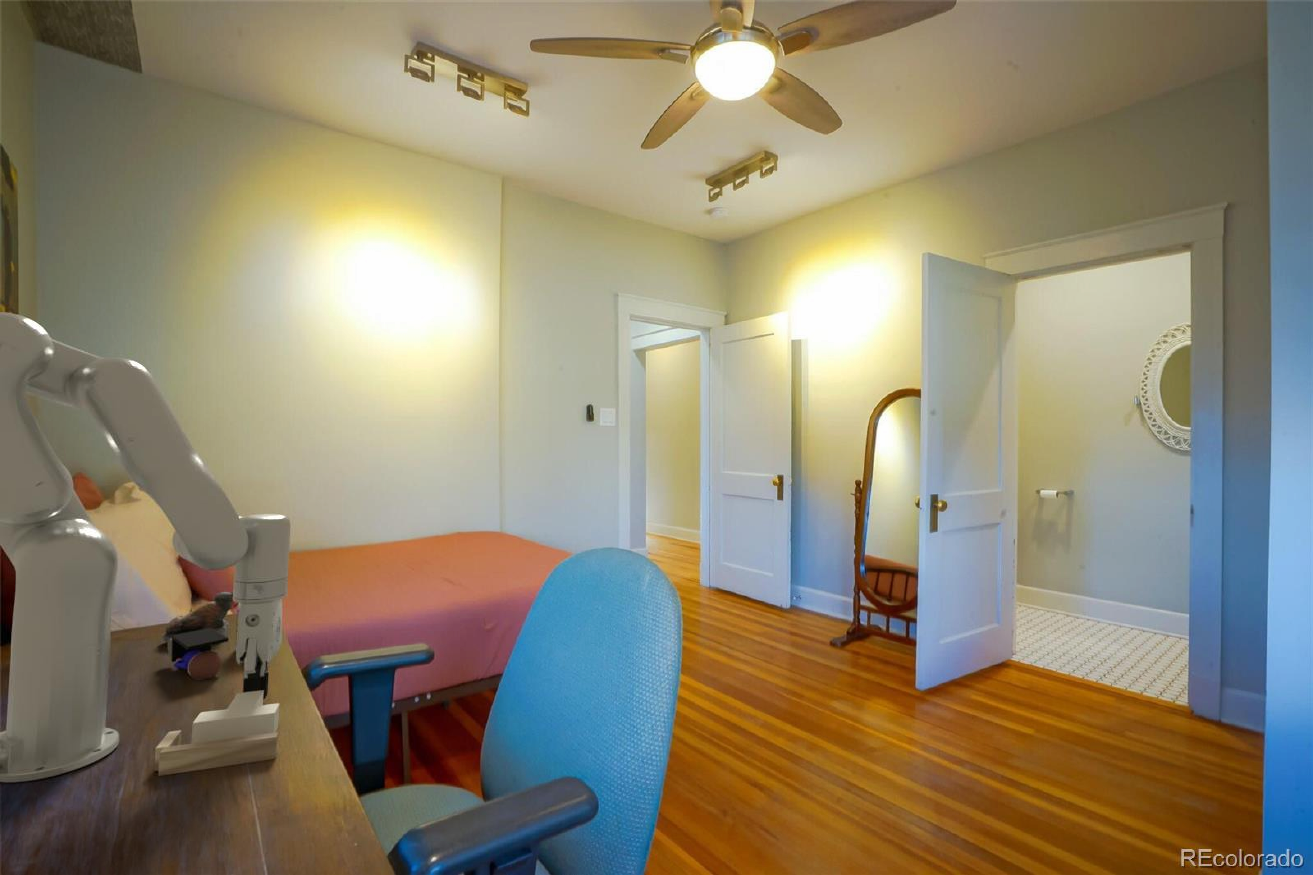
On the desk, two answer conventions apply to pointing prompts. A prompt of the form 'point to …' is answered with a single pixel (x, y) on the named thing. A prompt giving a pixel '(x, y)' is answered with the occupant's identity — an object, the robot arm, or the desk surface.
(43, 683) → the robot arm
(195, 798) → the desk surface
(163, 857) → the desk surface
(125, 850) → the desk surface
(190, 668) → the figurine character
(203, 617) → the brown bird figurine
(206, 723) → the t block
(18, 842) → the desk surface
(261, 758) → the corner stop
